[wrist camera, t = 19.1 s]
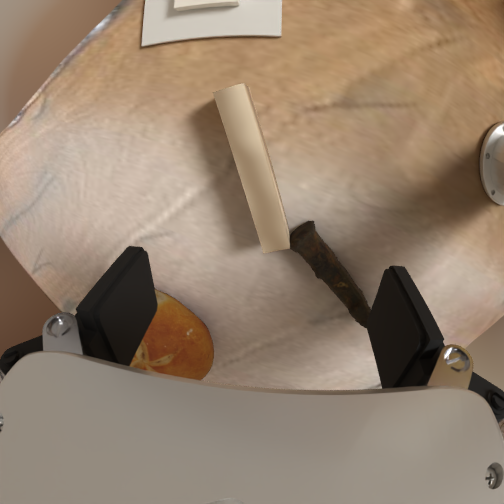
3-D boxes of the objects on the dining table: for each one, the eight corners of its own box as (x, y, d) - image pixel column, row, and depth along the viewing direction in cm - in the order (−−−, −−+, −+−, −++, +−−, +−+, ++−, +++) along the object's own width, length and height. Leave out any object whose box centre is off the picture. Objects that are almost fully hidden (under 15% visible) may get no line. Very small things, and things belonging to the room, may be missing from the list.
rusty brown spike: (285, 232, 35) (285, 251, 31) (311, 215, 34) (314, 232, 30) (353, 320, 42) (358, 341, 38) (375, 308, 40) (382, 329, 36)
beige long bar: (248, 86, 27) (243, 82, 22) (289, 228, 35) (289, 248, 31) (223, 94, 27) (212, 92, 23) (265, 233, 36) (263, 253, 31)
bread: (160, 245, 38) (129, 287, 29) (243, 350, 47) (236, 398, 38) (79, 293, 45) (52, 328, 37) (154, 371, 54) (140, 408, 46)
